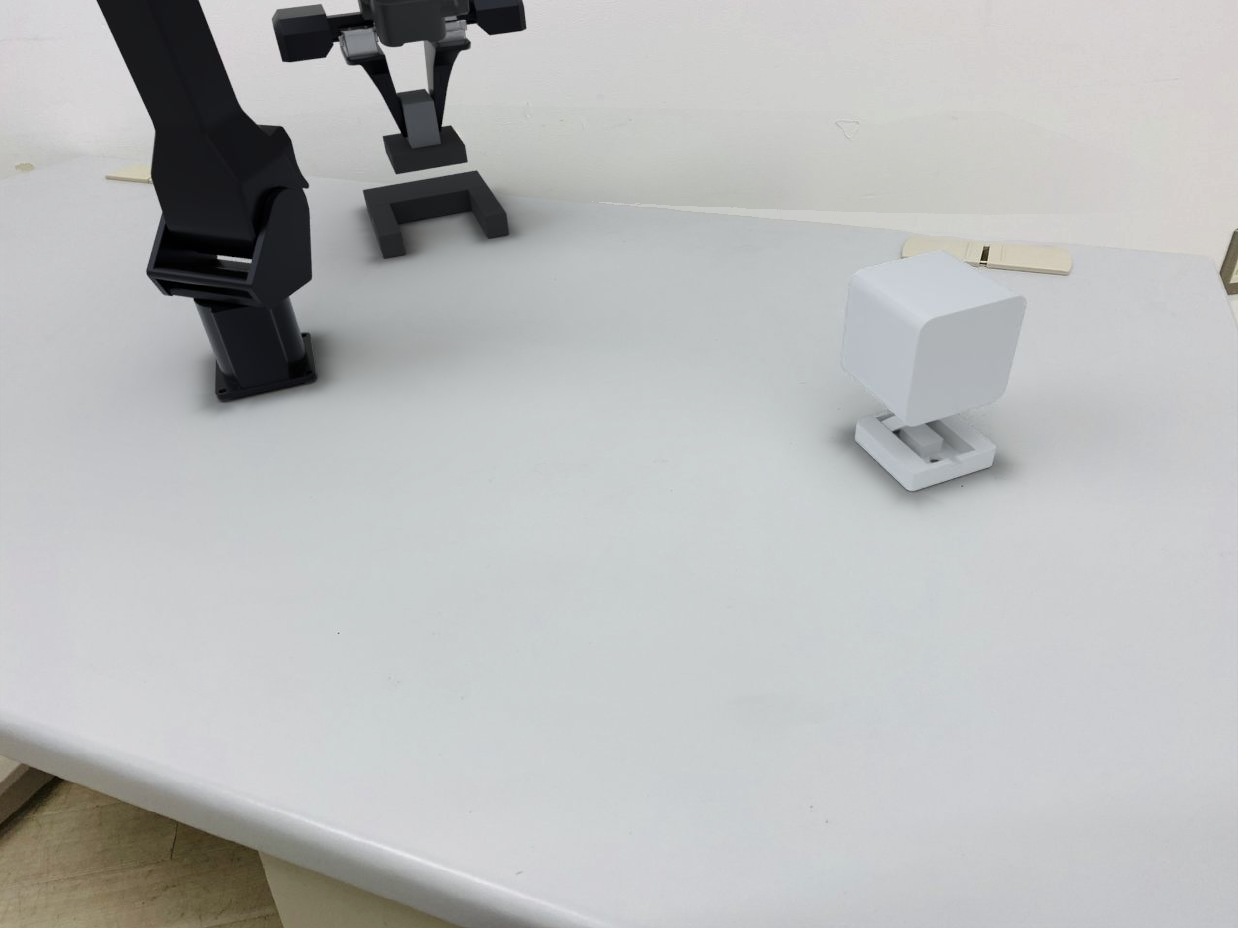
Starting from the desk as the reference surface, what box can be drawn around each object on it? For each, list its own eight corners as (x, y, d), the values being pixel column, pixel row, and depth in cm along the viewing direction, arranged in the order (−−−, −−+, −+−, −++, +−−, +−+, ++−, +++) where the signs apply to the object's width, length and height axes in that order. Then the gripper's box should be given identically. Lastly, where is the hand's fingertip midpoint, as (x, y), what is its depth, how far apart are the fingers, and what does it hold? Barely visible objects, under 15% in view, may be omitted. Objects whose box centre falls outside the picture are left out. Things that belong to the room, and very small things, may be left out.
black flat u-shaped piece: (509, 234, 78) (506, 212, 77) (383, 258, 75) (378, 236, 74) (480, 190, 87) (477, 170, 86) (367, 210, 85) (362, 189, 83)
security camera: (922, 400, 54) (950, 246, 48) (1000, 463, 49) (1042, 299, 43) (831, 426, 53) (848, 270, 47) (902, 494, 47) (932, 329, 41)
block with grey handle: (468, 162, 74) (458, 100, 71) (395, 175, 72) (382, 111, 69) (454, 142, 78) (444, 82, 75) (385, 153, 77) (373, 93, 74)
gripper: (248, -58, 56) (313, 184, 66) (532, -88, 61) (555, 143, 70) (246, -76, 65) (304, 141, 74) (495, -100, 69) (520, 107, 79)
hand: (421, 134), depth 74 cm, fingers closed on block with grey handle, 2 cm apart
